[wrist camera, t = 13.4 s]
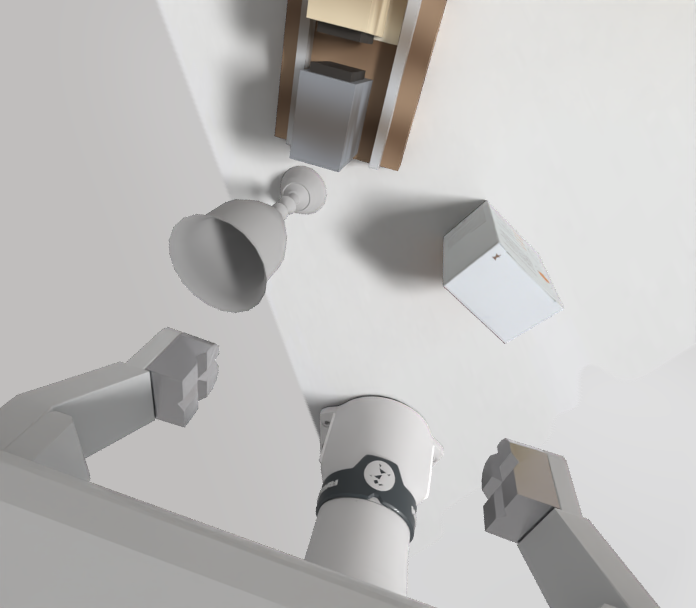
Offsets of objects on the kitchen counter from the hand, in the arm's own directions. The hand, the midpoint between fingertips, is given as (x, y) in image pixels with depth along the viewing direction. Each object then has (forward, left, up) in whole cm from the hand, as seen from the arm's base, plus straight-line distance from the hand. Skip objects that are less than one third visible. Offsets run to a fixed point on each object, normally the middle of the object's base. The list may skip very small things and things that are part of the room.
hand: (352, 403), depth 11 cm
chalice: (-6, +11, -31) cm, 34 cm away
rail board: (+8, +8, -31) cm, 33 cm away
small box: (-6, -9, -31) cm, 33 cm away
